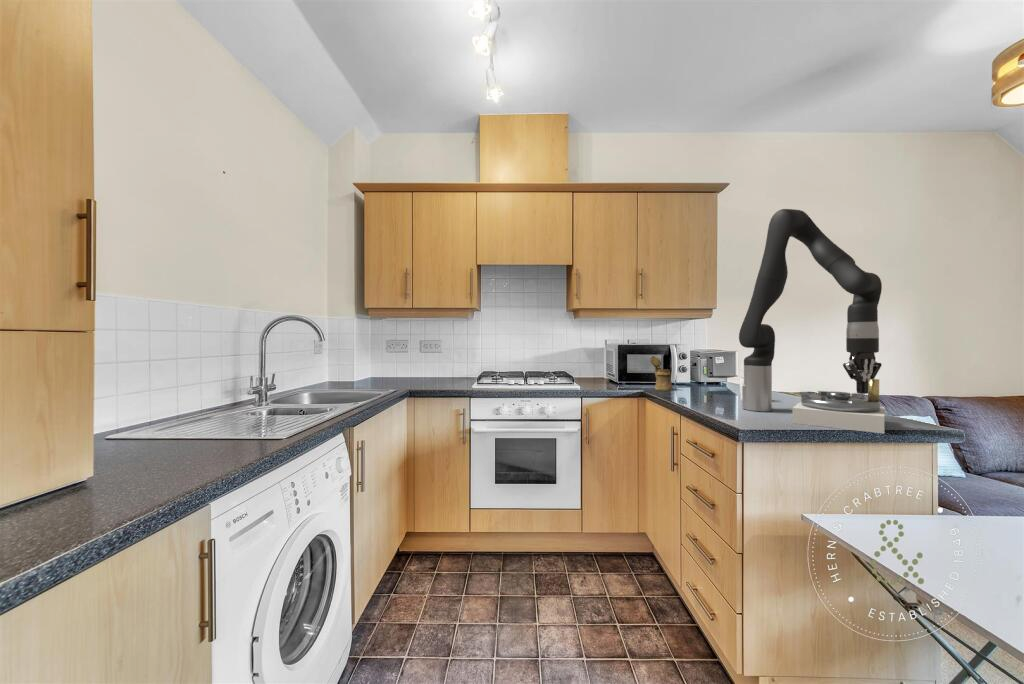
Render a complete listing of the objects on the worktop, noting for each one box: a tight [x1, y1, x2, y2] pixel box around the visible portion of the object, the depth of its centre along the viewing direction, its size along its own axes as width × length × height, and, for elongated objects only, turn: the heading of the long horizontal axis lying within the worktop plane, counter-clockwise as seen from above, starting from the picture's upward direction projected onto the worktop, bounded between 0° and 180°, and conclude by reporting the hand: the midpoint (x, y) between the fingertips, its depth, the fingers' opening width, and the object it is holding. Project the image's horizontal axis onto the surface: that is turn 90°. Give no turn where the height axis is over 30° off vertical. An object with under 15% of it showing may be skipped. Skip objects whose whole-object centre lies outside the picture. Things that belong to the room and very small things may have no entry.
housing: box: [792, 401, 885, 434], centre depth 131 cm, size 22×22×5 cm
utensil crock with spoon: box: [650, 355, 674, 392], centre depth 217 cm, size 9×14×18 cm, turn 19°
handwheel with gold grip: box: [800, 378, 881, 412], centre depth 131 cm, size 20×20×10 cm
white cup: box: [738, 376, 744, 401], centre depth 178 cm, size 8×8×10 cm
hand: (862, 393), depth 122 cm, fingers closed
